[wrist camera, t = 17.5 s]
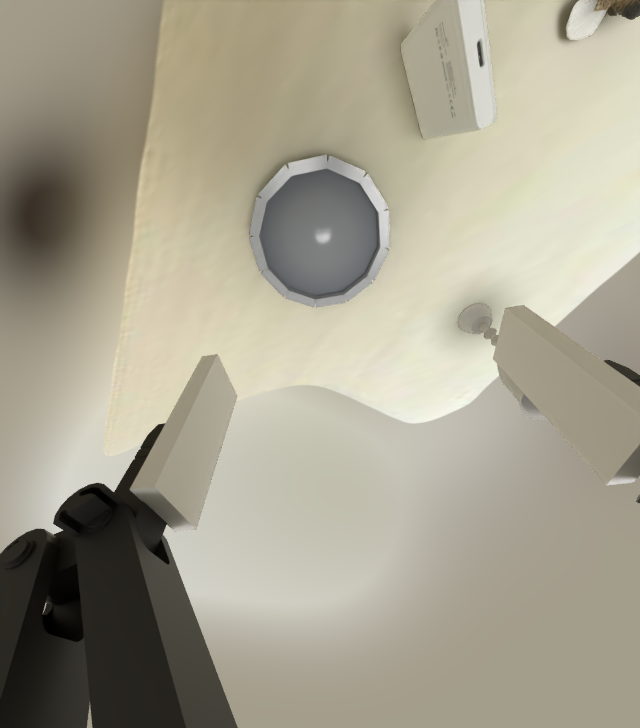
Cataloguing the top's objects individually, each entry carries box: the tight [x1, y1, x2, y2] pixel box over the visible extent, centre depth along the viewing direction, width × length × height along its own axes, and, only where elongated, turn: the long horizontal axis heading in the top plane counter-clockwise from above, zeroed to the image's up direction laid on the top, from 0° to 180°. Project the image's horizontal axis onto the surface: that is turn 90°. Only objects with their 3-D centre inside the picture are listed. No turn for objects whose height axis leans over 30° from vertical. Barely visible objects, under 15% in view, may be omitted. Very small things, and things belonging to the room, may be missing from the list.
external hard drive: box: [401, 0, 497, 139], centre depth 24 cm, size 2×8×12 cm, turn 28°
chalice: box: [458, 303, 546, 419], centre depth 37 cm, size 7×7×18 cm
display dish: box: [249, 155, 390, 308], centre depth 36 cm, size 17×17×2 cm
